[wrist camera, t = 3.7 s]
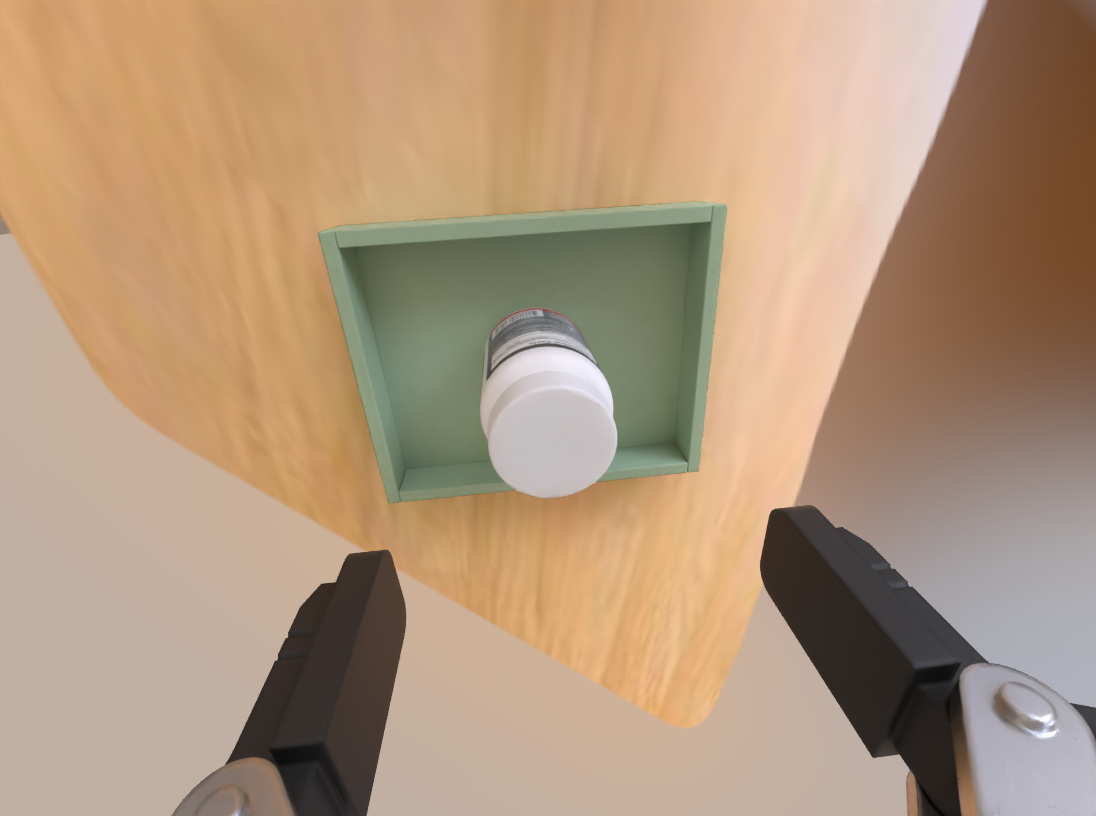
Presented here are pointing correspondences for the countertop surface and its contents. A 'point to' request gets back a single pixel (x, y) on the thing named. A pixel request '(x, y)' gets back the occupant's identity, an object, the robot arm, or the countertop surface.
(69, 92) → the countertop surface
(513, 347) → the pill bottle
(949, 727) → the robot arm
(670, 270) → the tray
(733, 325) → the countertop surface
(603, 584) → the countertop surface
